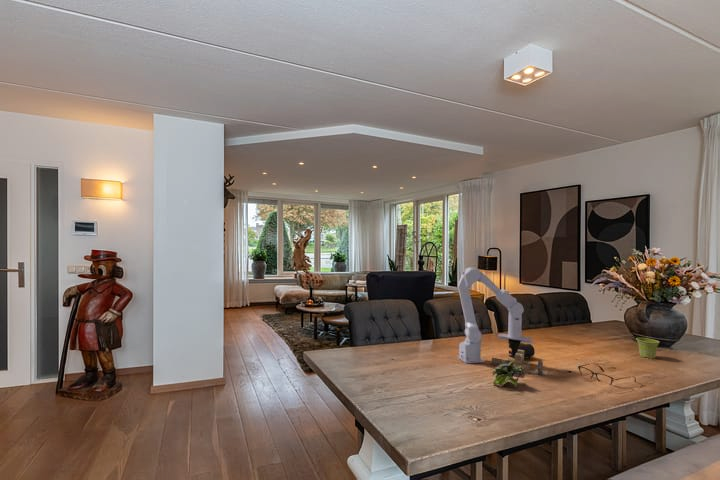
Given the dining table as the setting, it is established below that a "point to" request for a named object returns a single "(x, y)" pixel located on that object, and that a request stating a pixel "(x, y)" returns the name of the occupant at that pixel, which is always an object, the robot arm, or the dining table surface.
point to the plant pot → (647, 347)
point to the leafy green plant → (506, 373)
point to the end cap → (527, 349)
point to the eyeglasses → (601, 374)
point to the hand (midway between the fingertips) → (514, 356)
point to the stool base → (524, 365)
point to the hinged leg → (519, 356)
